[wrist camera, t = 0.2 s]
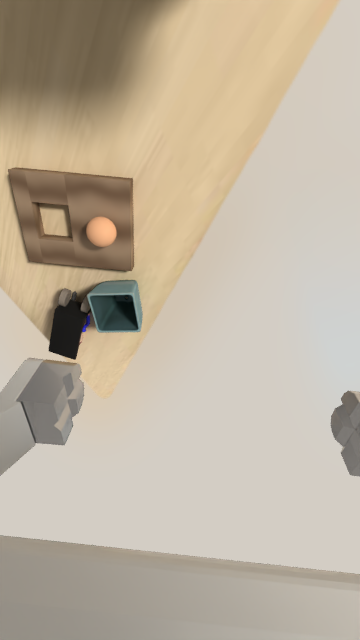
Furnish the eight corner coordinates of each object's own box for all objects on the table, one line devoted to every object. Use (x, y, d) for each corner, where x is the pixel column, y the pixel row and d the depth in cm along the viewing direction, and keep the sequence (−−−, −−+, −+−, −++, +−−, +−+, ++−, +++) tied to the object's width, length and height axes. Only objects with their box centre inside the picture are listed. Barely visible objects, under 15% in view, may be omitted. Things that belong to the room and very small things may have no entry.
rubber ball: (90, 211, 50) (80, 219, 46) (118, 214, 50) (111, 222, 46) (93, 239, 53) (83, 249, 49) (120, 242, 53) (113, 252, 49)
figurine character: (69, 278, 63) (59, 335, 70) (54, 292, 56) (45, 353, 63) (99, 288, 64) (87, 343, 71) (89, 303, 57) (76, 362, 64)
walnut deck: (16, 167, 49) (7, 169, 47) (132, 178, 49) (129, 181, 47) (35, 256, 59) (29, 261, 56) (134, 265, 58) (131, 271, 56)
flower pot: (109, 308, 65) (97, 333, 57) (100, 272, 60) (86, 294, 52) (148, 307, 64) (141, 332, 56) (142, 271, 59) (133, 292, 52)
